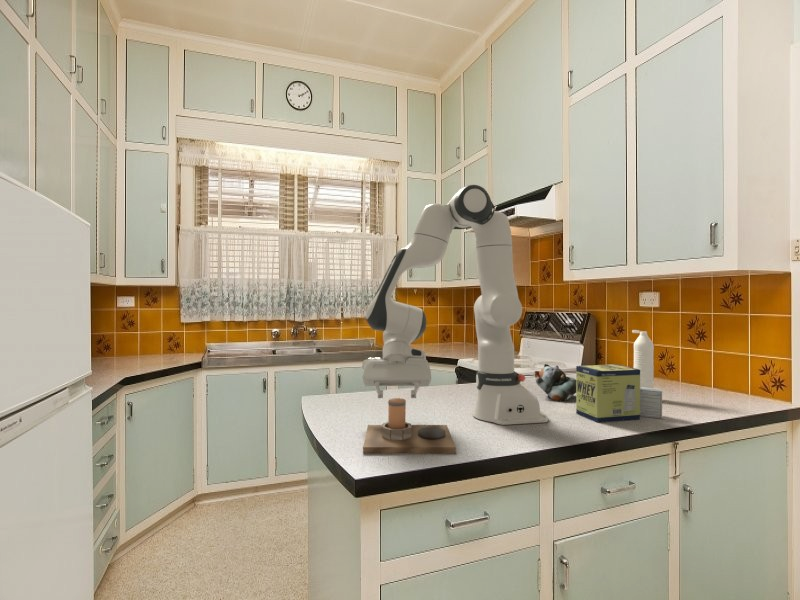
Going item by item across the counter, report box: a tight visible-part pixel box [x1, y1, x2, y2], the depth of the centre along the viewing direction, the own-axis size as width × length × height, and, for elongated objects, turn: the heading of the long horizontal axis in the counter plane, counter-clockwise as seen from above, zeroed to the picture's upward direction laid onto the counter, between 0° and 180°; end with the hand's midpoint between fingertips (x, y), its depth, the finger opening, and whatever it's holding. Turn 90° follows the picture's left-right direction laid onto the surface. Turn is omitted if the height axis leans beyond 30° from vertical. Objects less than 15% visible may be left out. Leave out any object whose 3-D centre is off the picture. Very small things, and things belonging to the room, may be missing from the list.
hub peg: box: [387, 397, 407, 429], centre depth 111 cm, size 4×4×9 cm
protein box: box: [575, 363, 641, 424], centre depth 134 cm, size 10×16×16 cm
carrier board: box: [362, 421, 457, 455], centre depth 111 cm, size 22×18×4 cm
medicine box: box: [640, 387, 663, 419], centre depth 135 cm, size 8×4×9 cm, turn 65°
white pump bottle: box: [631, 329, 655, 388], centre depth 160 cm, size 9×6×25 cm
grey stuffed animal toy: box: [534, 363, 576, 403], centre depth 161 cm, size 15×12×14 cm
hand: (397, 397), depth 122 cm, fingers open, 8 cm apart
